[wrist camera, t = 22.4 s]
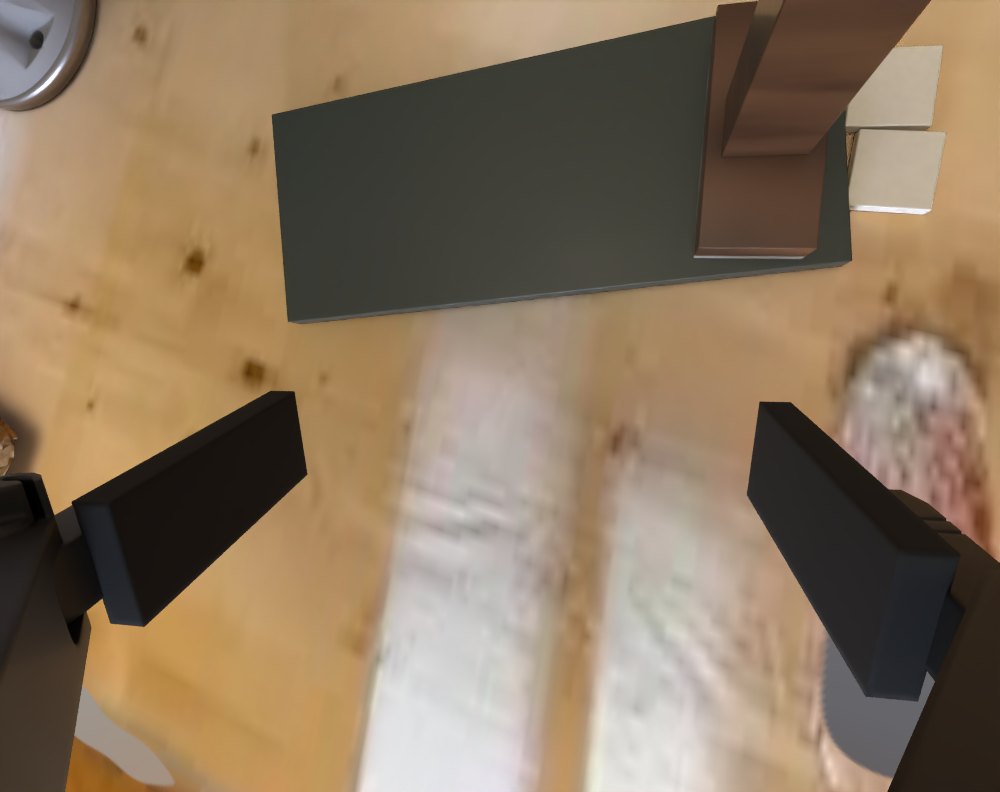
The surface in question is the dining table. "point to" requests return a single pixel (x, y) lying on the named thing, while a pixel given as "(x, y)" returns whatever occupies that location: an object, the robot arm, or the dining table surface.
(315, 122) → the slate board
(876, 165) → the chalk patch
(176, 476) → the robot arm
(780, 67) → the brown upright slab stand
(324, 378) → the dining table surface
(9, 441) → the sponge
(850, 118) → the chalk patch
